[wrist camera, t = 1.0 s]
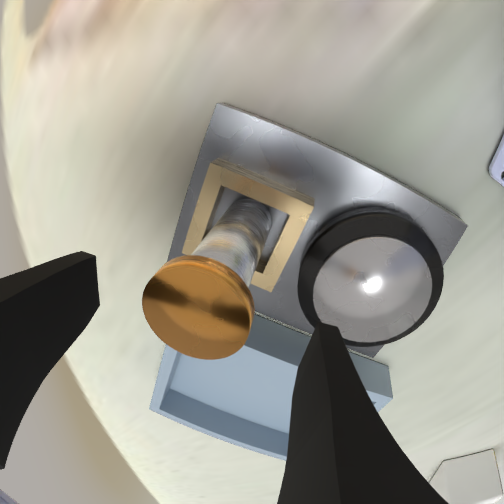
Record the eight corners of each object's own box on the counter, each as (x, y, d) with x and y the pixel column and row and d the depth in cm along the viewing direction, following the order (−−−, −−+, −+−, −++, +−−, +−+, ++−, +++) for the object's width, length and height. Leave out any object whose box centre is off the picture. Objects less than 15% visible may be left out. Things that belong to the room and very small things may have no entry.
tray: (388, 366, 20) (392, 398, 18) (311, 440, 26) (308, 466, 23) (192, 286, 20) (174, 314, 18) (162, 384, 26) (149, 409, 23)
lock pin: (292, 206, 16) (267, 300, 9) (266, 261, 17) (228, 373, 10) (228, 178, 16) (152, 249, 9) (207, 235, 17) (135, 331, 10)
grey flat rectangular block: (463, 219, 15) (486, 243, 12) (375, 346, 20) (379, 380, 17) (223, 102, 15) (203, 103, 12) (172, 261, 20) (150, 287, 17)
